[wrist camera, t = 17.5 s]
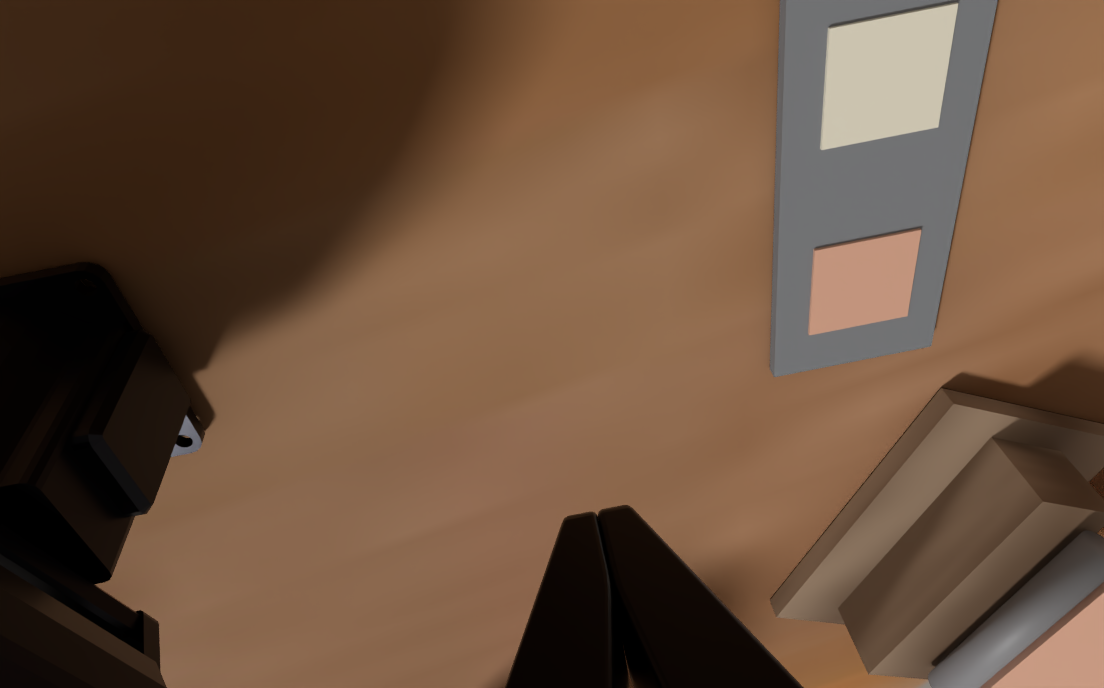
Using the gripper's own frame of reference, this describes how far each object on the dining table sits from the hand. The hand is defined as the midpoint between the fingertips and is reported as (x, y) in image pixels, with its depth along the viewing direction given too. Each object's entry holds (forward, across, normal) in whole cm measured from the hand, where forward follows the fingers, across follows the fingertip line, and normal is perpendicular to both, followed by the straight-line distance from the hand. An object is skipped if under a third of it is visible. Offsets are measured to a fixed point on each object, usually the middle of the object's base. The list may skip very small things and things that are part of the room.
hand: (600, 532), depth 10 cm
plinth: (+12, +14, -19) cm, 26 cm away
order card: (+12, +9, -3) cm, 15 cm away
